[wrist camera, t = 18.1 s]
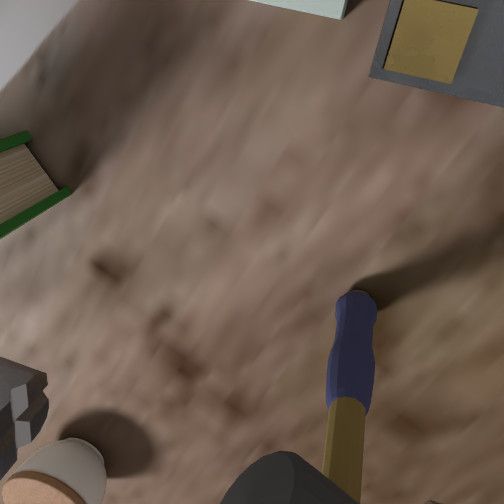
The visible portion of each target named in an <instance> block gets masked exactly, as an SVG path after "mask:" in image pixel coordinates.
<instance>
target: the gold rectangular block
mask: <svg viewBox="0 0 504 504" xmlns="http://www.w3.org/2000/svg"><path fill="white" fill-rule="evenodd" d="M478 11H479V9H475V8H470V7H465V6H460V5H455V4H450V3H445V2H440V1H435V0H404V3H403V6H402V10H401V13H400V16H399V20H398V23H397V26H396V30H395V33H394V36H393V40H392V43H391V46H390V50H389V53H388V56H387V60H386V63H385V66H384V69H385V70H390V71H394V72H399V73H403V74H408V75H412V76H417V77H421V78H425V79H430V80H434V81H439V82H443V83H448V84H451V83H452V80H453V78H454V75H455V72H456V70H457V67H458V64H459V61H460V59H461V56H462V53H463V51H464V48H465V45H466V43H467V40H468V37H469V35H470V32H471V29H472V27H473V24H474V21H475V19H476V16H477V13H478Z"/></svg>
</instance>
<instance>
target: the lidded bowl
mask: <svg viewBox="0 0 504 504" xmlns="http://www.w3.org/2000/svg"><path fill="white" fill-rule="evenodd" d="M106 483H107V477H106V470H105V467H104V459H103V456H102V454H101V453H100V452H99V450H98V449H97V448H96V447H94V446H93V445H92V444H90V443H89V442H87V441H85V440H82V439H79V438H66V439H64V440H59V441H54V442H51V443H49V444H46V445H44V446H43V447H41V448H39V449H38V450H37V451H35V452H34V453H33V454H32V455H31V456H30V457H28V458H27V459H26V460H25V461H24V462H23V463H22V465H21V466H20V467H19V468H18V469H17V471H16V472H15V473H14V474H13V475H12V476H11V477H10V478H9V479H8V480H7V481H6V483H5V484H4V486H3V490H2V496H3V501H4V503H5V504H101V503H102V501H103V498H104V495H105V490H106Z"/></svg>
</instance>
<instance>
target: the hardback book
mask: <svg viewBox="0 0 504 504" xmlns="http://www.w3.org/2000/svg"><path fill="white" fill-rule="evenodd" d="M30 140H32V137H31V136H30V134H29V133H28V132H27V131H24V132H21V133H18V134H16V135H13V136H10V137H7V138H4V139H1V140H0V239H1V238H3V237H4V236H6V235H8V234H9V233H11V232H12V231H14V230H16V229H17V228H19V227H20V226H22V225H24V224H25V223H27V222H28V221H30V220H31V219H33V218H35V217H36V216H38V215H39V214H41V213H43V212H44V211H46V210H47V209H49V208H50V207H52V206H54V205H55V204H57V203H58V202H60V201H62V200H63V199H65V198H66V197H68V196H70V195H71V194H72V192H71V191H70V190H69V188H68V187H67V186H66V187H64V188H63V189H61V190H58V189H57V188H56V186H55V185H54V184H53V182H52V181H51V180H50V178H49V177H48V175H47V174H46V173H45V171H44V170H43V169H42V167H41V166H40V165H39V163H38V162H37V160H36V159H35V158H34V156H33V155H32V154H31V152H30V151H29V150H28V148H27V147H26V145H25V144H26V143H28V142H29V141H30Z"/></svg>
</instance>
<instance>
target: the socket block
mask: <svg viewBox="0 0 504 504" xmlns="http://www.w3.org/2000/svg"><path fill="white" fill-rule="evenodd" d="M435 1H440V2H445V3H450V4H455V5H460V6H465V7H470V8H475V9H479V11H478V13H477V16H476V19H475V21H474V24H473V27H472V29H471V32H470V35H469V37H468V40H467V43H466V45H465V48H464V51H463V53H462V56H461V59H460V61H459V64H458V67H457V70H456V72H455V75H454V78H453V80H452V83H451V84H448V83H443V82H439V81H434V80H430V79H425V78H421V77H417V76H412V75H408V74H403V73H399V72H394V71H390V70H385V69H384V66H385V63H386V62H384V60H385V57H386V54H387V50H388V47H389V44H390V40H391V37H392V33H393V30H394V27H395V23H396V20H397V17H398V13H399V10H400V7H401V3H402V0H390V3H389V6H388V10H387V13H386V17H385V20H384V24H383V27H382V31H381V34H380V38H379V41H378V45H377V48H376V52H375V55H374V59H373V62H372V66H371V69H370V74H369V77H372V78H376V79H381V80H385V81H389V82H394V83H398V84H403V85H407V86H412V87H416V88H420V89H425V90H429V91H434V92H438V93H442V94H447V95H451V96H456V97H460V98H465V99H469V100H473V101H478V102H482V103H487V104H491V105H496V106H500V107H504V0H435Z"/></svg>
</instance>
